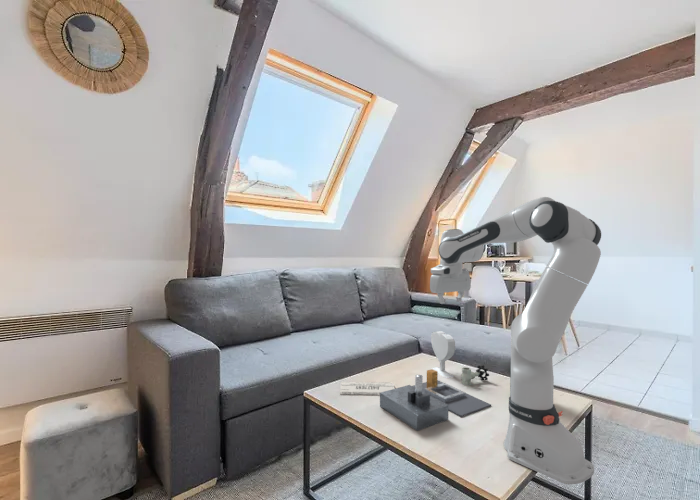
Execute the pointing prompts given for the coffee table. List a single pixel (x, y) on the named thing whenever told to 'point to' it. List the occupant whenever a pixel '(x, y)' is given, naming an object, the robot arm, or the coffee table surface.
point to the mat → (461, 402)
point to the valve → (473, 374)
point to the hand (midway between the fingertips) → (450, 302)
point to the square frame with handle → (434, 387)
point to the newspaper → (365, 388)
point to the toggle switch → (414, 405)
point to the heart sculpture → (442, 350)
